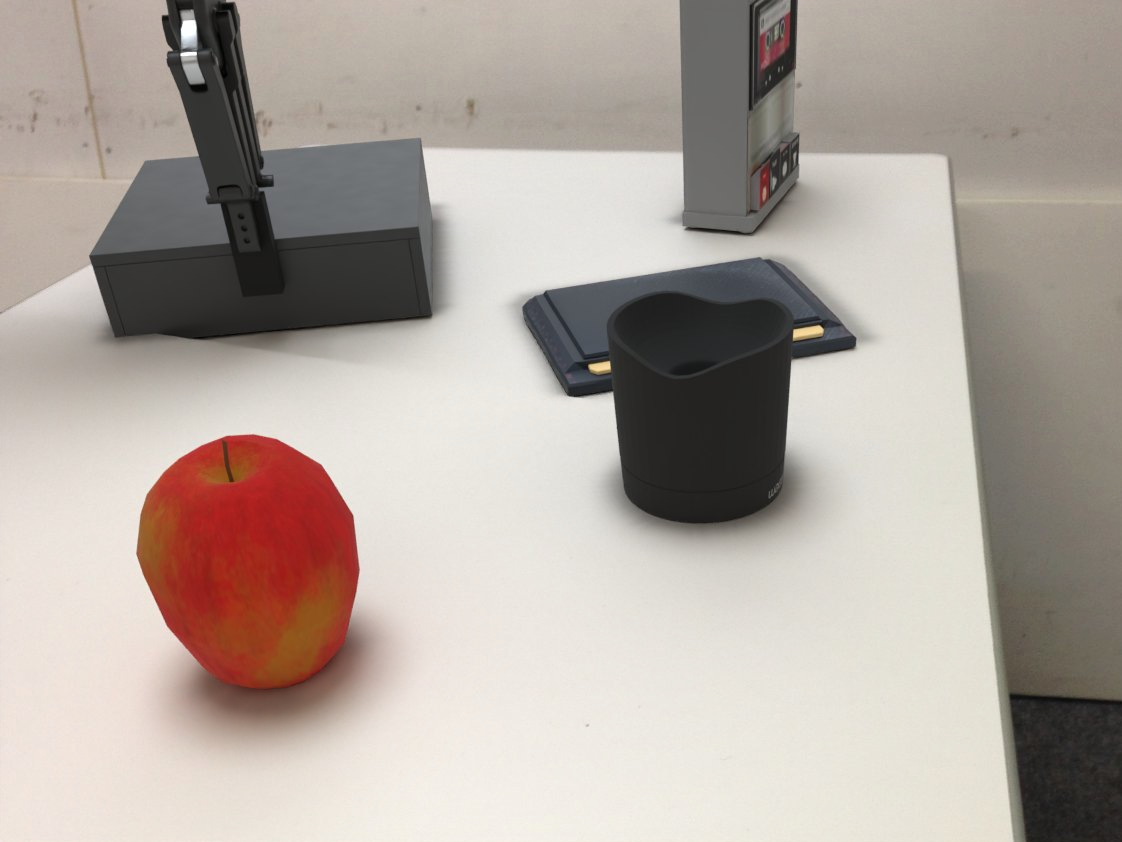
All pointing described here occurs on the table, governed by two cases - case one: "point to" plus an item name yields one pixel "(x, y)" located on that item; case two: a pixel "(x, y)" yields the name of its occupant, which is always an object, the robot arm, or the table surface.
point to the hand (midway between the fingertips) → (264, 291)
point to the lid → (301, 239)
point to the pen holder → (701, 403)
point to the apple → (251, 560)
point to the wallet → (583, 311)
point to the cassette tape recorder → (737, 110)
